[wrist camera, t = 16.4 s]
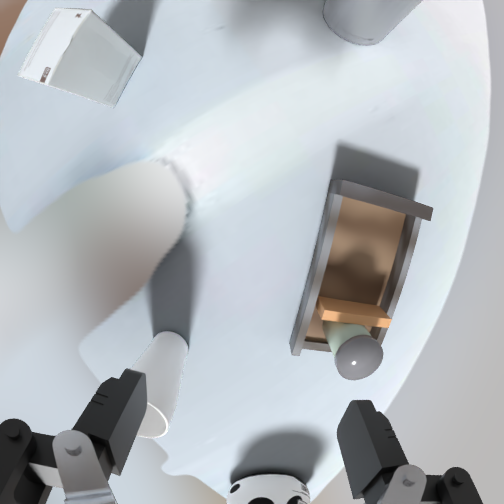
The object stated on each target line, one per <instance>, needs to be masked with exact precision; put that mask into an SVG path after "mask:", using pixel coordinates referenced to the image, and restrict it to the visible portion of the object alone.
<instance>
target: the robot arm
mask: <svg viewBox="0 0 504 504" xmlns="http://www.w3.org/2000/svg"><path fill="white" fill-rule="evenodd" d="M422 1H423V0H326V3H325V5H324V8H323V15H324V19H325V21H326V23H327V24H328V26H329V27H330V28H331V29H332V30H333V32H335V33H336V34H337V35H338V36H340V37H341V38H343V39H345V40H347V41H349V42H352V43H354V44H358V45H366V46H367V45H374V44H377V43H379V42H380V41H382V40H383V39H384V38H385V37H386V36H387V35H388V34H389V33H390V32H391V31H392V30H393V29H394V28H395V27H396V26H397V25H398V24H399V23H400V22H401V21H402V20H403V19H404V18H405V17H406V16H407V15H408V14H409V13H410V12H411V11H412V10H413V9H414V8H415V7H416V6H417V5H419V4H420V3H421V2H422ZM146 409H147V386H146V374H145V373H142V372H139V371H135V370H131V369H128V368H127V369H125V370H124V372H123V373H122V375H121V377H120V378H119V379H116V378H113V377H111V378H109V379H108V380H106V381H105V382H103V383H102V384H101V385H100V387H99V388H98V390H97V392H96V394H95V395H94V396H93V398H92V399H91V402H89V404H88V405H87V407H86V408H85V410H84V411H83V413H82V415H81V416H80V418H79V419H78V421H77V423H76V424H75V426H74V427H73V429H72V430H66V431H63V432H60V433H59V434H58V435H56V436H50V435H45V434H40V433H35V432H32V431H31V430H30V427H29V426H28V425H27V424H26V423H25V422H23V421H21V420H19V419H8V420H5V421H4V422H2V423H1V424H0V504H46V501H47V499H48V496H49V494H50V492H51V490H52V487H59V488H63V489H64V492H65V496H66V499H65V504H118V503H117V501H116V499H115V497H114V495H113V493H112V490H111V488H110V486H109V484H108V480H109V477H110V475H111V473H113V474H116V475H119V476H120V475H121V472H122V470H123V467H124V465H125V462H126V460H127V457H128V455H129V452H130V450H131V447H132V445H133V442H134V440H135V437H136V435H137V432H138V430H139V428H140V425H141V423H142V420H143V418H144V416H145V413H146ZM337 439H338V443H339V446H340V450H341V454H342V457H343V461H344V465H345V468H346V472H347V476H348V480H349V484H350V488H351V491H352V495H353V499H360V498H364V500H365V503H364V504H483V503H482V500H481V498H480V496H479V494H478V492H477V489H476V487H475V485H474V483H473V481H472V479H471V477H470V475H469V474H468V472H467V471H466V470H464V469H462V468H459V467H453V468H450V469H449V470H447V471H446V472H445V473H444V474H443V475H425V473H424V472H423V471H422V469H420V468H419V467H417V466H414V465H409V463H408V461H407V459H406V457H405V454H404V452H403V450H402V448H401V445H400V443H399V441H398V439H397V438H396V435H395V433H394V431H393V430H392V427H391V424H390V422H389V420H388V419H387V418H386V417H385V416H384V415H383V414H382V413H381V412H380V411H379V412H376V410H375V407H374V405H373V403H372V402H371V401H370V400H352V401H351V402H350V404H349V406H348V408H347V410H346V412H345V414H344V415H343V417H342V419H341V421H340V423H339V425H338V429H337Z"/></svg>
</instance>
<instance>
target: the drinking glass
mask: <svg viewBox="0 0 504 504" xmlns="http://www.w3.org/2000/svg"><path fill="white" fill-rule="evenodd" d="M187 356H188V345H187V343H186V341H185V340H184V339H183V338H182V337H181V336H180V335H178V334H177V333H174V332H170V331H164V332H160V333H158V334H157V335H156V336H155V337H154V338H153V340H152V341H151V343H150V344H149V346H148V347H147V348H146V350H145V351H144V352H143V353H142V354H141V356H140V357H139V358H138V359H137V361H136V362H135V363H134V364H133V366H132V367H131V368H130V369H131V370H135V371H139V372H142V373H145V374H146V386H147V409H146V413H145V416H144V418H143V420H142V423H141V425H140V428H139V430H138V432H137V436H140V437H145V438H158V437H161V436H163V435H165V434H166V433H167V431H168V429H169V426H170V424H171V421H172V419H173V416H174V413H175V410H176V406H177V402H178V397H179V392H180V387H181V381H182V376H183V371H184V367H185V362H186V359H187Z"/></svg>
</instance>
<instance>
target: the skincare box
mask: <svg viewBox="0 0 504 504" xmlns="http://www.w3.org/2000/svg"><path fill="white" fill-rule="evenodd" d="M141 58H142V56H141V55H140V54H139V53H138V52H136V51H135V50H134V49H133V48H132V47H131V46H130V45H129V44H128V43H127V42H126V41H125V40H124V39H123V38H122V37H120V36H119V35H118V34H117V33H116V32H115V31H114V30H113V29H112V28H111V27H110V26H109V25H108V24H106V23H105V22H104V21H103V20H102V19H101V18H100V17H99V16H98V15H96V14H95V13H94V12H93V10H91V9H75V8H55V9H54V10H53V12H52V13H51V15H50V16H49V18H48V20H47V21H46V23H45V25H44V26H43V28H42V30H41V31H40V33H39V35H38V36H37V38H36V40H35V42H34V44H33V45H32V47H31V49H30V51H29V53H28V55H27V57H26V59H25V61H24V63H23V65H22V67H21V69H20V71H19V73H18V76H20V77H23V78H26V79H29V80H31V81H34V82H37V83H40V84H44V85H47V86H50V87H53V88H56V89H59V90H62V91H65V92H68V93H71V94H74V95H77V96H80V97H83V98H86V99H89V100H91V101H94V102H97V103H100V104H103V105H106V106H109V107H112V108H114V107H115V105H116V103H117V101H118V99H119V97H120V95H121V93H122V91H123V90H124V88H125V86H126V84H127V82H128V80H129V79H130V77H131V75H132V73H133V72H134V70H135V68H136V66H137V64H138V63H139V61H140V60H141Z"/></svg>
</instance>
